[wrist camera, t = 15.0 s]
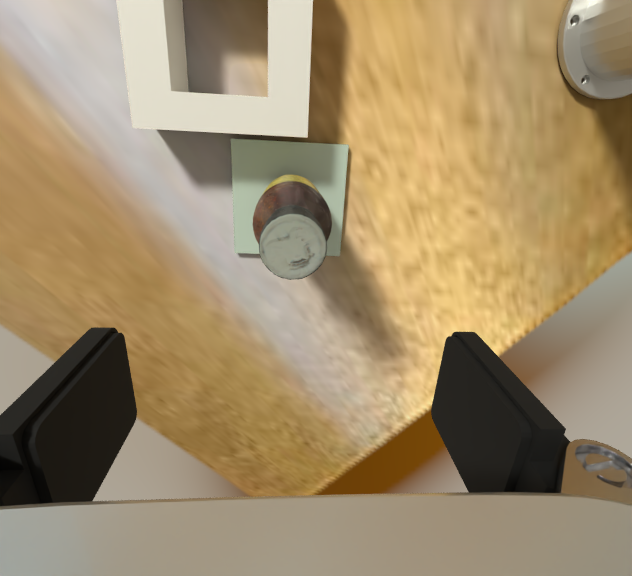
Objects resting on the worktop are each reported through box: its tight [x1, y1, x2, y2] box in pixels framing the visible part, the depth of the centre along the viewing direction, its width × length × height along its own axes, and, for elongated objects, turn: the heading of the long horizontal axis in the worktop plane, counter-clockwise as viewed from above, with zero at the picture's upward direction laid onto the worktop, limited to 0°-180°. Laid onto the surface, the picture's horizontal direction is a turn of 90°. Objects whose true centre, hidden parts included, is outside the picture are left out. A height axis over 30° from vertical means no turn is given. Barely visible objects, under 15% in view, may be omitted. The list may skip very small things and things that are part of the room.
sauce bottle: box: [252, 175, 332, 280], centre depth 31 cm, size 7×6×20 cm
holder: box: [116, 0, 313, 138], centre depth 32 cm, size 15×15×6 cm
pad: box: [231, 139, 349, 256], centre depth 40 cm, size 12×12×1 cm
